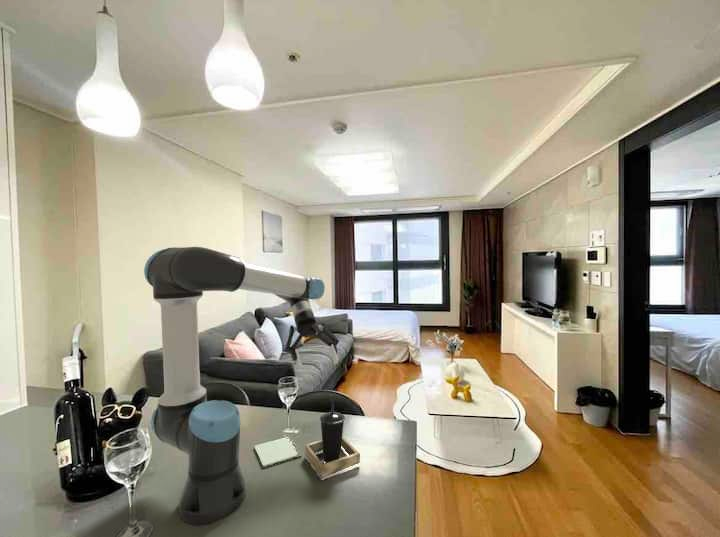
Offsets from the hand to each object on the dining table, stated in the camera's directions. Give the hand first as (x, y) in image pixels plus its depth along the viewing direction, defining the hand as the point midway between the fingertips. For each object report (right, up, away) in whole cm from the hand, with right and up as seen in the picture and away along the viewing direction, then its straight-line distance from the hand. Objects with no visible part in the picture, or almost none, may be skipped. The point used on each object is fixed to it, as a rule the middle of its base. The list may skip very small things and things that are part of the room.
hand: (318, 365), depth 105 cm
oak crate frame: (+5, -26, -11) cm, 29 cm away
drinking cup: (+5, -27, -11) cm, 29 cm away
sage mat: (-13, -26, -6) cm, 30 cm away
